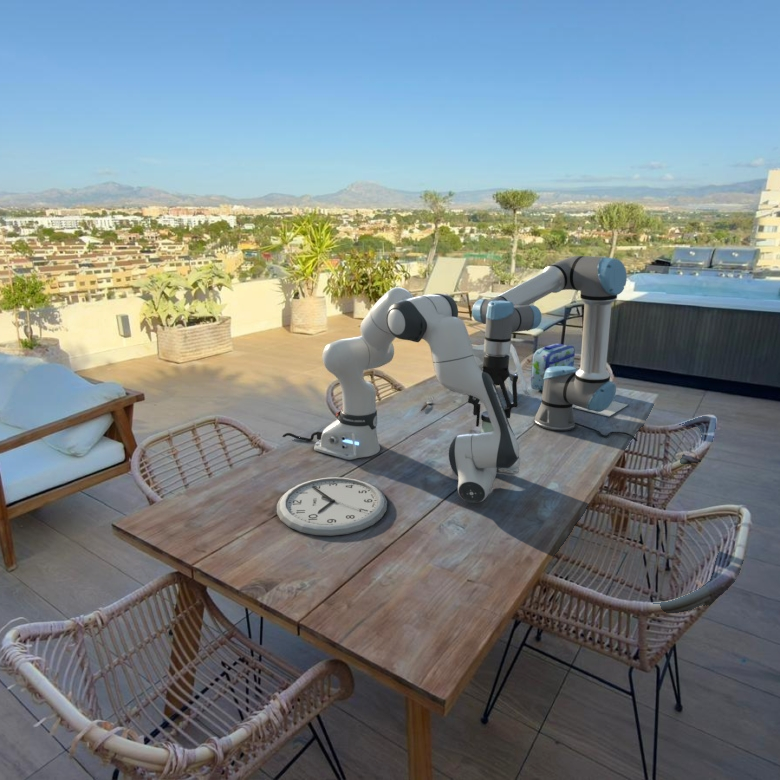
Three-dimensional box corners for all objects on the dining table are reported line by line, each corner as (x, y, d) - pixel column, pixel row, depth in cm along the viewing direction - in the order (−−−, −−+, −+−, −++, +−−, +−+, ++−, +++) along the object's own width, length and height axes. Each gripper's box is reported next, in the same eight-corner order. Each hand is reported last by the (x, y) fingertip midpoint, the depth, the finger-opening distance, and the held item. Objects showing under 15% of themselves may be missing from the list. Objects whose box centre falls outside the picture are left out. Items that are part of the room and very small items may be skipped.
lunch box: (547, 395, 239) (552, 351, 233) (526, 390, 247) (530, 347, 240) (574, 384, 257) (579, 343, 251) (554, 380, 264) (558, 339, 258)
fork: (417, 411, 216) (418, 406, 216) (428, 400, 231) (428, 395, 230) (423, 412, 215) (424, 407, 215) (434, 400, 230) (434, 396, 229)
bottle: (477, 465, 168) (481, 412, 163) (494, 466, 168) (499, 413, 162) (479, 473, 163) (483, 418, 158) (497, 474, 163) (501, 419, 157)
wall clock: (392, 527, 129) (268, 531, 127) (391, 533, 130) (269, 537, 127) (383, 473, 158) (282, 475, 155) (383, 478, 158) (282, 480, 156)
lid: (479, 415, 164) (480, 410, 163) (500, 416, 163) (500, 411, 163) (482, 422, 158) (482, 417, 157) (503, 423, 157) (503, 418, 157)
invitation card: (608, 416, 214) (573, 407, 224) (608, 416, 214) (573, 408, 224) (628, 404, 229) (594, 396, 238) (628, 405, 229) (594, 397, 238)
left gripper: (519, 464, 148) (523, 446, 160) (448, 453, 154) (458, 436, 167) (517, 484, 150) (522, 464, 162) (447, 472, 156) (457, 454, 168)
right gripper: (531, 353, 155) (524, 425, 162) (463, 348, 160) (459, 419, 167) (532, 359, 149) (524, 434, 155) (460, 354, 153) (456, 427, 160)
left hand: (489, 450), depth 164 cm, fingers closed on bottle, 5 cm apart
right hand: (490, 426), depth 161 cm, fingers open, 7 cm apart
